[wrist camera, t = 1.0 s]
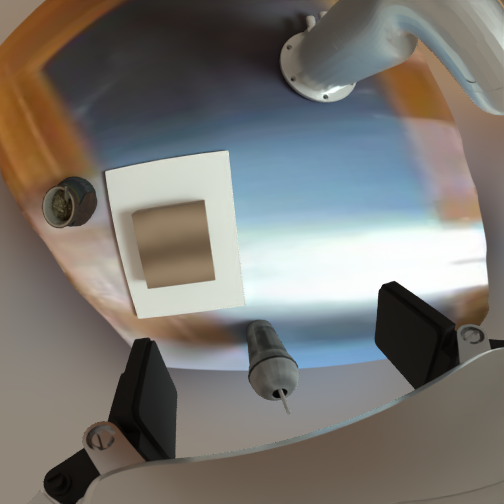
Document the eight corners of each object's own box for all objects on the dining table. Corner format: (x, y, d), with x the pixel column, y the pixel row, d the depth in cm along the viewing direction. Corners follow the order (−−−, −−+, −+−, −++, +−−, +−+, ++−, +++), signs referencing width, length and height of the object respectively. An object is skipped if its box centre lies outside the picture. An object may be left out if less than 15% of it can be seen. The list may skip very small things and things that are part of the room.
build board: (107, 171, 35) (105, 171, 34) (227, 150, 37) (228, 150, 36) (139, 316, 43) (138, 318, 42) (244, 302, 45) (245, 305, 44)
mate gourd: (56, 207, 35) (22, 220, 26) (76, 165, 34) (42, 167, 25) (89, 230, 37) (59, 249, 28) (110, 188, 36) (83, 196, 27)
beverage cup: (238, 347, 48) (257, 438, 29) (239, 313, 46) (259, 404, 27) (278, 344, 49) (311, 429, 30) (281, 311, 47) (322, 395, 28)
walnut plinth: (136, 210, 37) (131, 214, 34) (204, 199, 38) (204, 202, 35) (151, 280, 41) (147, 289, 38) (214, 272, 42) (215, 280, 39)
